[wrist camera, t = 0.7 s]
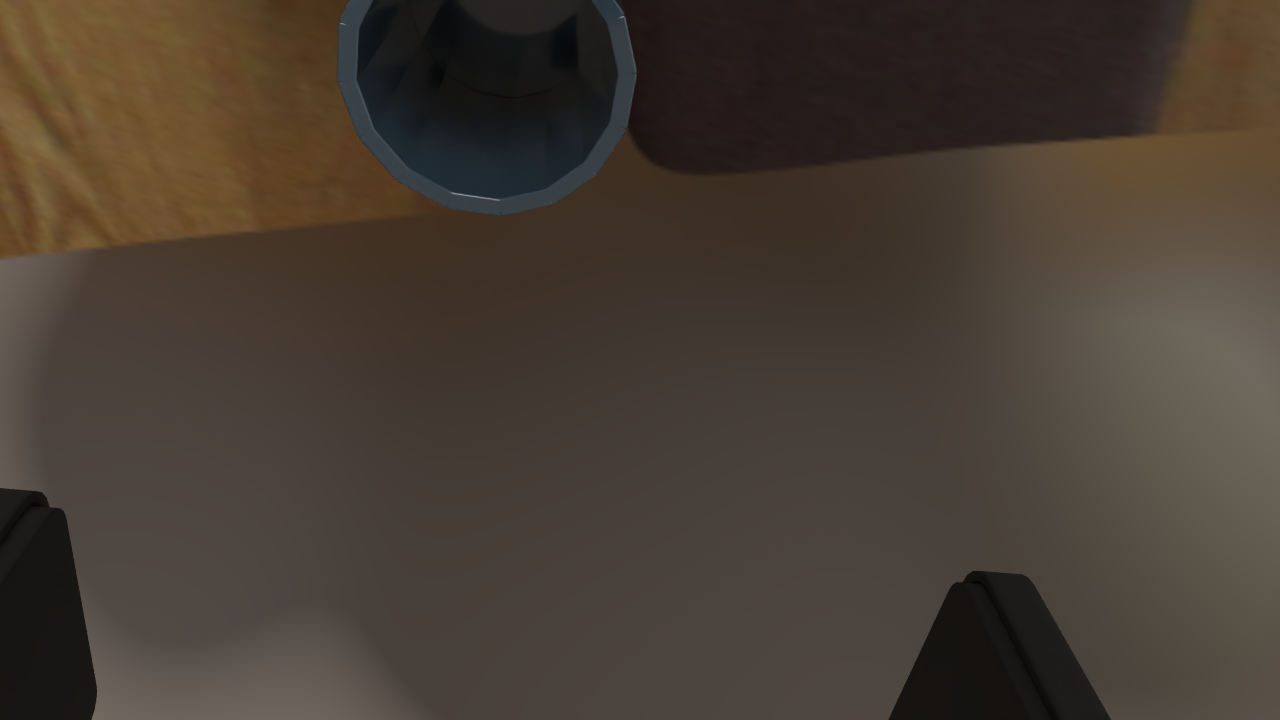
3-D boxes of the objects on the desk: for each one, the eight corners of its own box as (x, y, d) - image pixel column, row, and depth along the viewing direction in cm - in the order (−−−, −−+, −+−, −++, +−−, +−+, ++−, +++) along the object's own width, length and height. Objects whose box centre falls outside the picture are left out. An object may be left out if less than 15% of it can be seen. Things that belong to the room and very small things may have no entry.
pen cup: (404, -146, 30) (341, -113, 22) (634, -99, 31) (660, -50, 23) (391, 86, 34) (333, 192, 25) (597, 120, 35) (608, 232, 27)
